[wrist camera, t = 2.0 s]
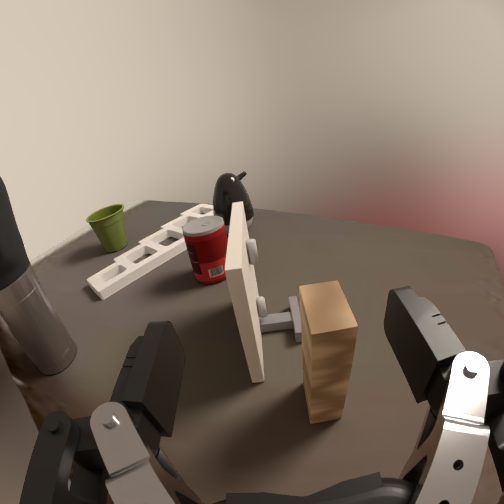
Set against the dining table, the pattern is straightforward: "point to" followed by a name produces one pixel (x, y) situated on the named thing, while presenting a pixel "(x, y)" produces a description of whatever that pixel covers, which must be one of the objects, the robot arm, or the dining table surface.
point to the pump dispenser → (231, 198)
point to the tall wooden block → (326, 348)
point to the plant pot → (109, 227)
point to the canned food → (207, 248)
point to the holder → (124, 263)
